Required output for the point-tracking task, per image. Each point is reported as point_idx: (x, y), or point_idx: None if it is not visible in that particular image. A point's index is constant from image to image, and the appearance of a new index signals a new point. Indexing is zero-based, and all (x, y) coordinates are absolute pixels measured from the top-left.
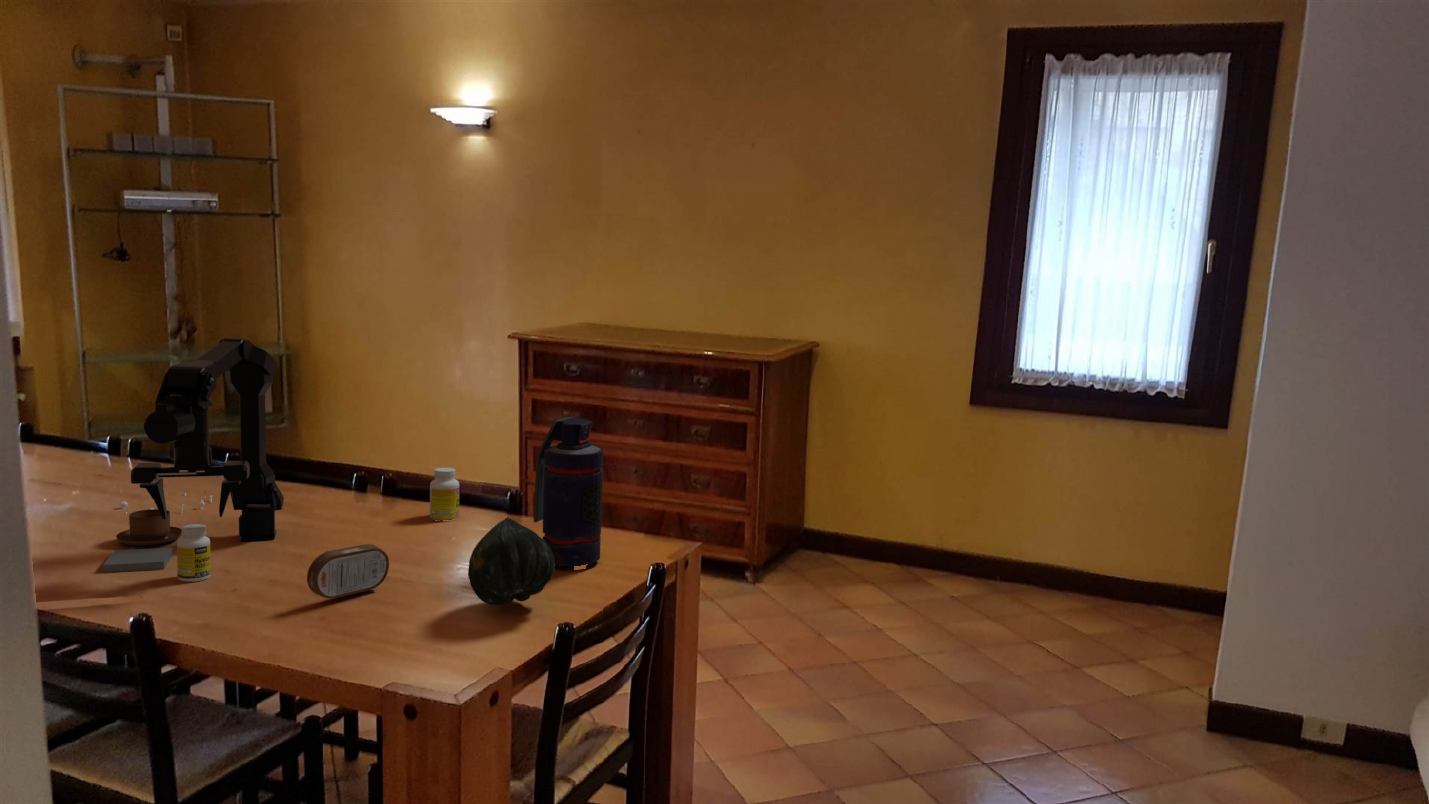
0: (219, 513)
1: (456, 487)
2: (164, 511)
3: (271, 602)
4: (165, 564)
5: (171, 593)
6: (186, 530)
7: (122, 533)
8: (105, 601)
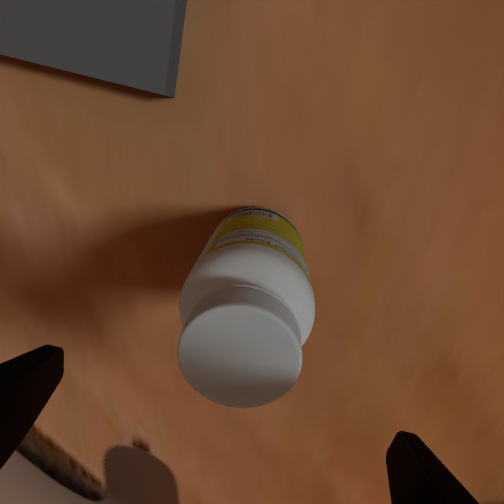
0: (390, 491)
1: None
2: (18, 442)
3: (382, 492)
4: (176, 59)
5: None
6: (200, 390)
7: None
8: (55, 343)
